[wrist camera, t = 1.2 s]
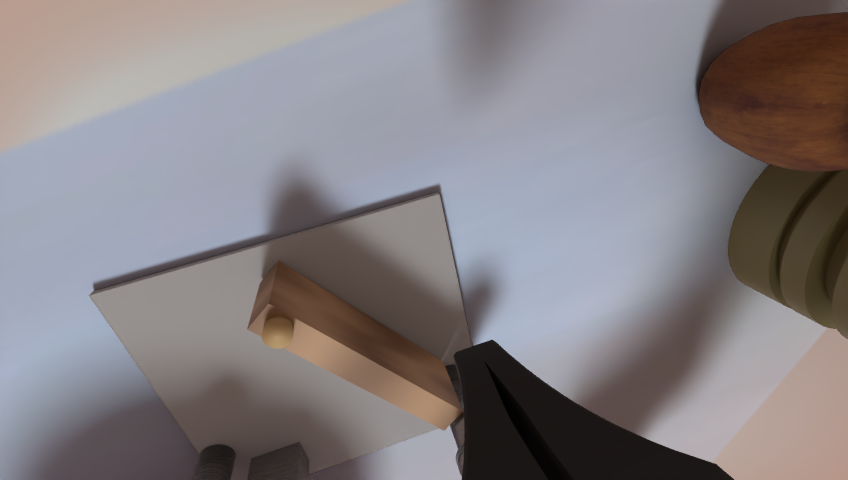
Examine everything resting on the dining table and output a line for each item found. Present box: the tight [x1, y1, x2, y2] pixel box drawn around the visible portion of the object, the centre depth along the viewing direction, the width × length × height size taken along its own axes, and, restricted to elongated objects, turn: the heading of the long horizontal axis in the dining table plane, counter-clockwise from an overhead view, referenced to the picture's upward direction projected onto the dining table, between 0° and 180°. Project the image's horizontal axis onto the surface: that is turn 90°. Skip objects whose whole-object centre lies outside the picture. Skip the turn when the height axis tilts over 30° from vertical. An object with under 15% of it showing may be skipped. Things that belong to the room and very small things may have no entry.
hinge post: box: [445, 364, 464, 475], centre depth 23 cm, size 3×3×7 cm
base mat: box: [89, 192, 472, 480], centre depth 24 cm, size 16×17×1 cm
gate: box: [247, 261, 463, 430], centre depth 21 cm, size 12×2×5 cm, turn 48°
